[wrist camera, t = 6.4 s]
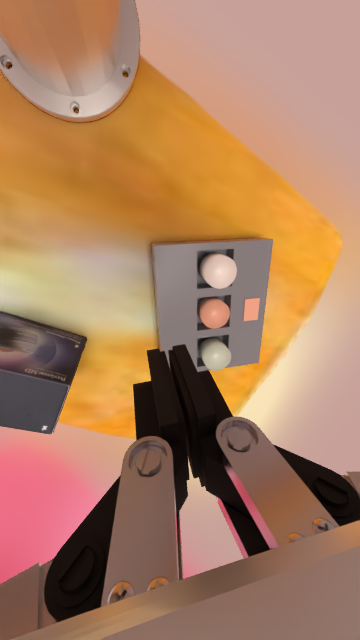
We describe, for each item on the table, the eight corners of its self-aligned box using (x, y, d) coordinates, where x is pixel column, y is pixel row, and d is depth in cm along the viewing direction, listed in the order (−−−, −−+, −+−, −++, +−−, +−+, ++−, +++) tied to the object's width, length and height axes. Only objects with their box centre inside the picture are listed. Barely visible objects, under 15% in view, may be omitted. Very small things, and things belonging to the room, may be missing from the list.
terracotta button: (196, 296, 31) (202, 302, 28) (223, 294, 31) (230, 300, 29) (196, 322, 32) (201, 330, 30) (222, 319, 33) (229, 327, 30)
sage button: (199, 339, 32) (204, 348, 29) (224, 335, 32) (232, 344, 30) (199, 362, 33) (204, 372, 31) (223, 358, 34) (230, 368, 32)
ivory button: (199, 253, 27) (205, 256, 25) (228, 251, 28) (237, 254, 26) (199, 284, 29) (205, 290, 27) (227, 282, 29) (235, 287, 27)
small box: (89, 334, 31) (73, 385, 22) (74, 375, 33) (53, 437, 23) (-4, 307, 28) (-72, 352, 18) (-15, 353, 29) (-82, 417, 20)
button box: (151, 243, 28) (153, 245, 25) (260, 237, 31) (273, 239, 28) (159, 364, 35) (162, 377, 32) (249, 352, 37) (259, 363, 34)
